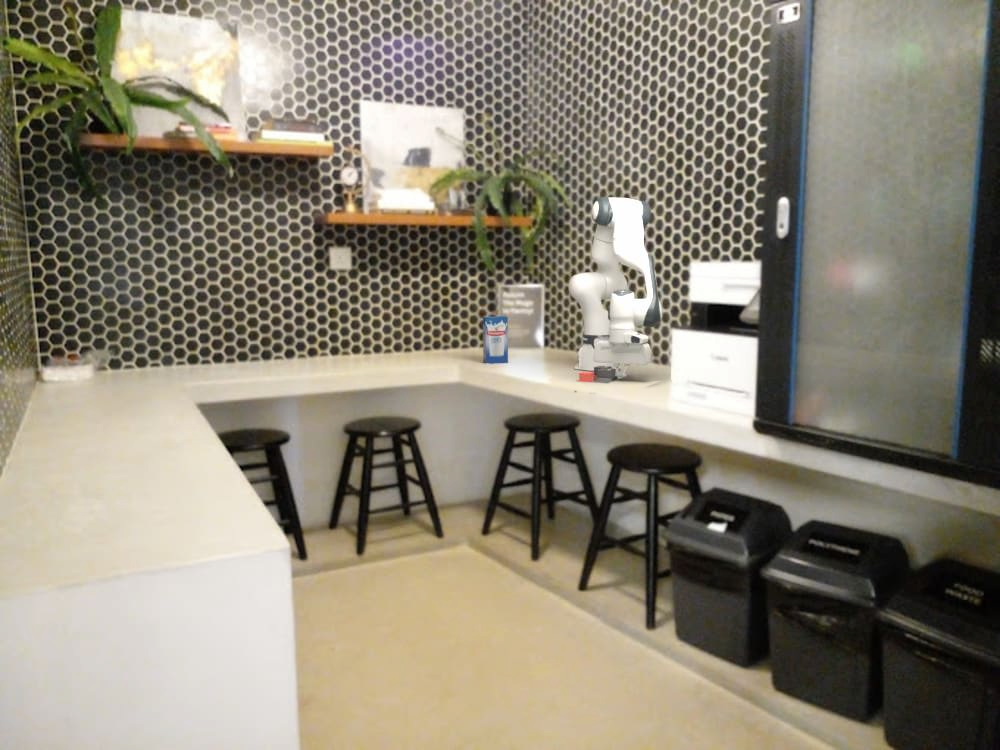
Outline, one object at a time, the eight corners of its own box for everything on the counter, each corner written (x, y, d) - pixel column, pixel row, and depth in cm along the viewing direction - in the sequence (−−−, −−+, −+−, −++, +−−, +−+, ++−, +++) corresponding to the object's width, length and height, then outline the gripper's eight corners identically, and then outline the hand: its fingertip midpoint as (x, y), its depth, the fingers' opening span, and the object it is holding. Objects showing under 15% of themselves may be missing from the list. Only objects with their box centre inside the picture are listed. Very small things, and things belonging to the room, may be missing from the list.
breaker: (602, 377, 269) (602, 367, 269) (615, 378, 267) (615, 368, 266) (597, 379, 265) (597, 369, 264) (610, 380, 263) (610, 370, 262)
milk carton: (485, 363, 326) (485, 317, 323) (483, 361, 332) (482, 316, 329) (508, 362, 328) (507, 317, 325) (505, 361, 334) (504, 316, 331)
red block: (583, 379, 266) (583, 371, 265) (594, 380, 264) (594, 372, 264) (579, 381, 262) (579, 372, 262) (589, 382, 260) (589, 373, 260)
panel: (598, 377, 282) (598, 363, 282) (628, 379, 277) (628, 365, 276) (575, 385, 263) (575, 370, 263) (607, 387, 258) (607, 372, 257)
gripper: (590, 336, 263) (590, 375, 265) (647, 338, 254) (646, 379, 256) (597, 335, 269) (596, 373, 271) (652, 337, 259) (652, 376, 261)
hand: (621, 376), depth 263 cm, fingers closed
